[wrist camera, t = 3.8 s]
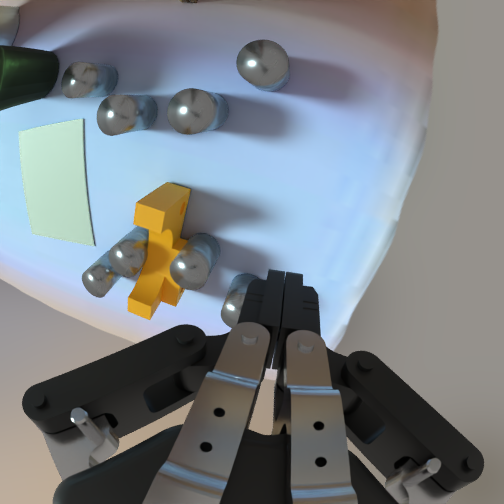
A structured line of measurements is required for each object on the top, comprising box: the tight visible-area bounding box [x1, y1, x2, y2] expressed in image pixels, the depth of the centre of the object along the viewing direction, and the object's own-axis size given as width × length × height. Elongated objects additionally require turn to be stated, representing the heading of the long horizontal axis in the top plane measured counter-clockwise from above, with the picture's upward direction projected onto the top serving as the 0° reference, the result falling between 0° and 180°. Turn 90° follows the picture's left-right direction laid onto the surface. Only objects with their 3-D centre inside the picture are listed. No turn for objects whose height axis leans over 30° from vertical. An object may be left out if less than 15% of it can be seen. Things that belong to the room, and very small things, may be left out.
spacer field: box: [61, 40, 290, 328], centre depth 24 cm, size 26×21×5 cm
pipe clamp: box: [128, 182, 191, 320], centre depth 26 cm, size 12×4×6 cm, turn 162°
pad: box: [19, 119, 95, 246], centre depth 28 cm, size 16×14×1 cm
